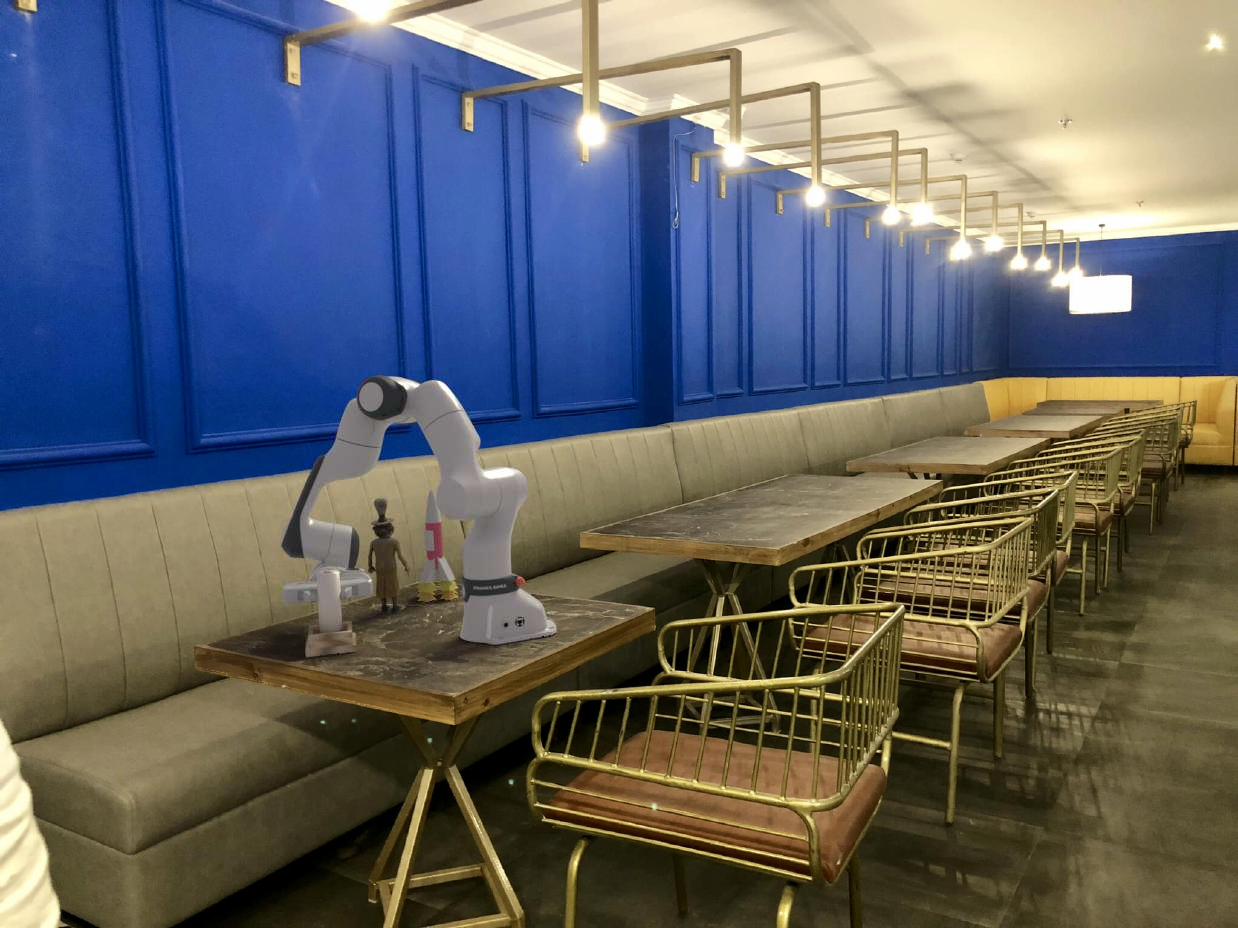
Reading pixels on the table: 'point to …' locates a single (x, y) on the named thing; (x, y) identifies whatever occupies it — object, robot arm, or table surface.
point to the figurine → (386, 559)
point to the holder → (330, 641)
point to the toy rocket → (435, 557)
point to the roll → (329, 601)
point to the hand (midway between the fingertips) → (327, 597)
